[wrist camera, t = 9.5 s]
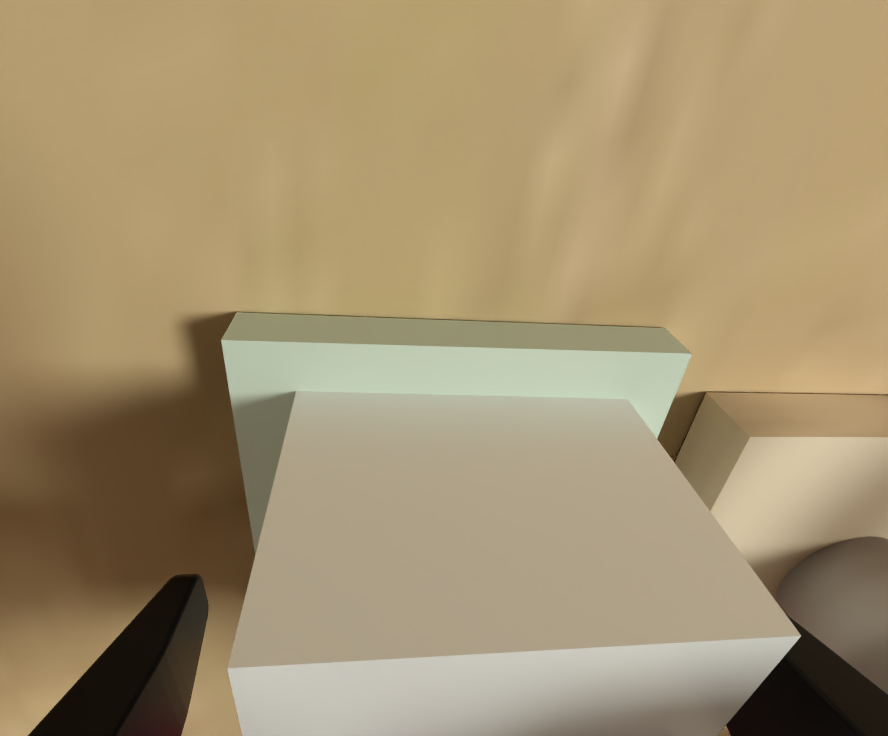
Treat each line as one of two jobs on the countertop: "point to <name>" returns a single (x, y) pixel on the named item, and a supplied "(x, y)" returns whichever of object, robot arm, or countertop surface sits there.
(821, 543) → the post base
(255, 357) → the pad
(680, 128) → the countertop surface
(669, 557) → the white cabinet cube
